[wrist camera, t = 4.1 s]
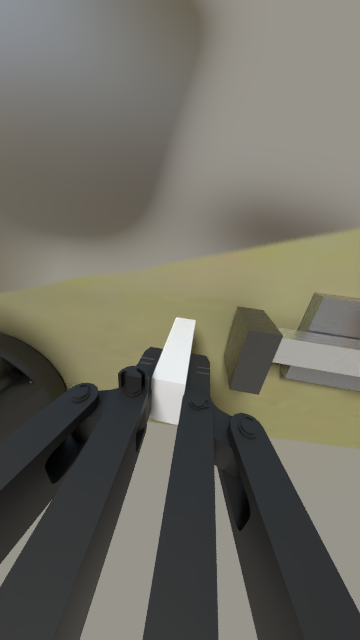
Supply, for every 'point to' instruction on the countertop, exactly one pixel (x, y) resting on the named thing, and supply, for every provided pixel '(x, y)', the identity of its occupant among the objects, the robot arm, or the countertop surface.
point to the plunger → (282, 350)
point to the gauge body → (333, 320)
